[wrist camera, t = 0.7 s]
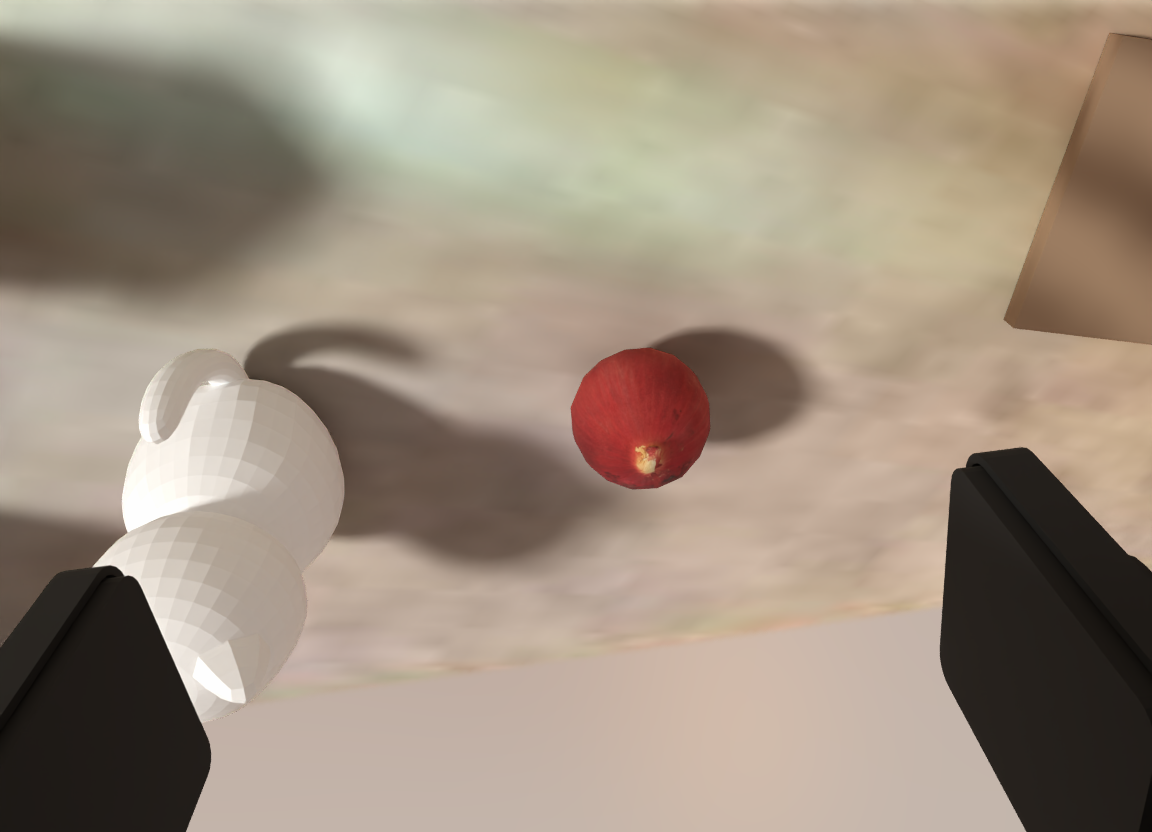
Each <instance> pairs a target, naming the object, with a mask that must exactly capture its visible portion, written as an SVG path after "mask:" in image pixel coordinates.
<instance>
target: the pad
mask: <svg viewBox="0 0 1152 832" xmlns="http://www.w3.org/2000/svg"><path fill="white" fill-rule="evenodd" d="M1004 320H1005V321H1006V322H1007V323H1008V324H1010V325H1011V326H1012V327H1013V328H1017V329H1026V330H1034V331H1042V332H1051V333H1059V334H1067V335H1075V336H1084V337H1092V338H1100V339H1108V340H1117V341H1125V342H1133V343H1142V344H1150V345H1152V40H1151V39H1145V38H1138V37H1132V36H1125V35H1118V34H1112V33H1109V36H1108V38H1107V41H1106V44H1105V47H1104V49H1103V52H1102V55H1101V57H1100V60H1099V63H1098V66H1097V68H1096V71H1095V74H1094V76H1093V79H1092V82H1091V85H1090V87H1089V90H1088V93H1087V95H1086V98H1085V101H1084V104H1083V106H1082V109H1081V112H1080V114H1079V117H1078V120H1077V122H1076V125H1075V128H1074V131H1073V133H1072V136H1071V139H1070V141H1069V144H1068V147H1067V150H1066V152H1065V155H1064V158H1063V160H1062V163H1061V166H1060V169H1059V171H1058V174H1057V177H1056V179H1055V182H1054V185H1053V188H1052V190H1051V193H1050V196H1049V198H1048V201H1047V204H1046V206H1045V209H1044V212H1043V215H1042V217H1041V220H1040V223H1039V225H1038V228H1037V231H1036V234H1035V236H1034V239H1033V242H1032V244H1031V247H1030V250H1029V253H1028V255H1027V258H1026V261H1025V263H1024V266H1023V269H1022V271H1021V274H1020V277H1019V280H1018V282H1017V285H1016V288H1015V290H1014V293H1013V296H1012V299H1011V301H1010V304H1009V307H1008V309H1007V312H1006V315H1005V318H1004Z"/></svg>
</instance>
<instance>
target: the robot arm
mask: <svg viewBox="0 0 1152 832" xmlns="http://www.w3.org/2000/svg"><path fill="white" fill-rule="evenodd" d="M940 660H941V666H942V670H943V674H944V677H945V679H946V682H947V684H948V686H949V688H950V690H951V691H952V693H953V695H954V697H955V699H956V701H957V703H958V705H959V707H960V708H961V710H962V712H963V714H964V716H965V718H966V720H967V721H968V723H969V725H970V727H971V729H972V731H973V733H974V735H975V736H976V738H977V740H978V742H979V744H980V746H981V748H982V749H983V751H984V753H985V755H986V757H987V759H988V761H989V762H990V764H991V766H992V768H993V770H994V772H995V774H996V776H997V778H998V779H999V781H1000V783H1001V785H1002V787H1003V789H1004V791H1005V792H1006V794H1007V796H1008V798H1009V800H1010V802H1011V804H1012V806H1013V807H1014V809H1015V811H1016V813H1017V815H1018V817H1019V819H1020V820H1021V822H1022V824H1023V826H1024V828H1025V830H1026V832H1152V572H1151V571H1150V570H1149V569H1148V567H1147V566H1145V565H1144V564H1143V563H1142V562H1141V561H1139V560H1138V559H1137V558H1136V557H1133V556H1130V555H1128V554H1127V553H1126V552H1125V551H1124V550H1123V549H1122V548H1121V547H1120V546H1119V544H1118V543H1117V542H1116V541H1115V540H1114V539H1113V538H1112V537H1111V536H1110V535H1109V534H1108V533H1107V532H1106V531H1105V529H1104V528H1103V527H1102V526H1101V525H1100V524H1099V523H1098V522H1097V521H1096V520H1095V519H1094V518H1093V517H1092V516H1091V514H1090V513H1089V512H1088V511H1087V510H1086V509H1085V508H1084V507H1083V506H1082V505H1081V504H1080V503H1079V502H1078V500H1077V499H1076V498H1075V497H1074V496H1073V495H1072V494H1071V493H1070V492H1069V491H1068V490H1067V489H1066V488H1065V487H1064V485H1063V484H1062V483H1061V482H1060V481H1059V480H1058V479H1057V478H1056V477H1055V476H1054V475H1053V474H1052V473H1051V471H1050V470H1049V469H1048V468H1047V467H1046V466H1045V465H1044V464H1043V463H1042V462H1041V461H1040V460H1039V459H1038V458H1037V456H1036V455H1035V454H1034V453H1033V452H1032V451H1030V450H1029V449H1028V448H1023V447H1021V448H1013V449H1005V450H997V451H990V452H982V453H974V454H972V455H971V456H970V457H969V459H968V461H967V464H966V468H959V469H956V470H955V471H954V472H953V474H952V479H951V490H950V505H949V520H948V534H947V549H946V564H945V579H944V594H943V609H942V624H941V638H940ZM210 763H211V749H210V743H209V740H208V738H207V735H206V733H205V731H204V728H203V726H202V724H201V722H200V719H199V717H198V715H197V712H196V710H195V708H194V706H193V703H192V701H191V699H190V697H189V694H188V692H187V690H186V688H185V685H184V683H183V681H182V679H181V676H180V674H179V672H178V669H177V667H176V665H175V663H174V660H173V658H172V656H171V654H170V651H169V649H168V647H167V645H166V642H165V640H164V638H163V635H162V633H161V631H160V629H159V626H158V624H157V622H156V620H155V617H154V615H153V613H152V611H151V608H150V606H149V604H148V601H147V599H146V597H145V595H144V592H143V590H142V588H141V586H140V584H139V582H138V581H137V580H136V579H135V578H134V577H133V576H129V575H128V576H124V574H123V573H122V571H121V570H119V569H118V568H117V567H115V566H111V565H108V566H100V567H92V568H85V569H77V570H69V571H63V572H60V573H58V574H57V575H56V576H55V577H54V578H53V579H52V580H51V581H50V582H49V584H48V585H47V586H46V588H45V589H44V590H43V592H42V593H41V594H40V596H39V597H38V598H37V600H36V601H35V602H34V604H33V605H32V606H31V608H30V609H29V610H28V612H27V613H26V614H25V616H24V617H23V619H22V620H21V621H20V623H19V624H18V625H17V627H16V628H15V629H14V631H13V632H12V633H11V635H10V636H9V637H8V639H7V640H6V641H5V643H4V644H3V645H2V647H1V648H0V832H186V830H187V827H188V825H189V822H190V820H191V817H192V815H193V812H194V809H195V807H196V804H197V802H198V799H199V797H200V794H201V792H202V789H203V786H204V784H205V781H206V779H207V776H208V773H209V770H210Z"/></svg>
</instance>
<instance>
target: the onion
mask: <svg viewBox="0 0 1152 832" xmlns="http://www.w3.org/2000/svg"><path fill="white" fill-rule="evenodd" d="M571 416H572V430H573V435H574V439H575V442H576V443H577V445H578V447H579V449H580V451H581V453H582V454H583V456H584V458H585V460H586V462H587V463H588V464H589V465H590V466H591V467H592V468H593V469H594V470H595V471H597V472H598V473H599V474H600V475H601V476H603V477H604V478H605V479H606V480H608V481H610V482H613V483H616V484H619V485H621V486H624V487H627V488H630V489H649V488H659V487H661V486H663V485H665V484H668V483H670V482H672V481H674V480H677V479H679V478H681V477H682V476H683V475H684V474H685V473H686V472H687V471H688V469H689V468H690V467H691V466H692V465H693V464H694V463H695V461H696V460H697V459H698V458H699V457H700V455H701V452H702V450H703V447H704V445H705V442H706V440H707V437H708V434H709V431H710V413H709V402H708V398H707V395H706V393H705V391H704V390H703V388H702V386H701V384H700V382H699V380H698V378H697V376H696V375H695V374H694V372H693V371H692V370H691V369H690V368H689V367H687V366H686V365H685V364H684V363H683V362H681V361H680V360H679V359H678V358H676V357H675V356H674V355H672V354H669V353H665V352H662V351H659V350H656V349H653V348H640V349H629V350H623V351H621V352H619V353H616V354H614V355H612V356H610V357H608V358H605V359H603V360H601V361H600V362H599V363H598V364H597V365H596V366H595V367H594V368H593V369H592V370H591V371H589V372H588V373H587V374H586V375H585V376H584V378H583V380H582V382H581V385H580V387H579V389H578V391H577V394H576V396H575V398H574V401H573V403H572V406H571Z"/></svg>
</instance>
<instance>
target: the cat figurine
mask: <svg viewBox="0 0 1152 832" xmlns="http://www.w3.org/2000/svg"><path fill="white" fill-rule="evenodd" d="M207 381H208V382H209V383H210V385H202V386H200V385H201V384H203V383H205V382H207ZM139 429H140V432H141V435H142V437H141V439H140V441H139V442H138V444H137V445H136V448H135V450H134V453H133V455H132V458H131V460H130V462H129V465H128V468H127V474H126V479H125V484H124V489H123V495H122V509H123V518H124V522H125V526H126V529H127V532H128V533H127V534H126V535H124V536H123V537H121V538H120V539H119V540H117V541H116V542H115V543H114V544H113V545H112V546H111V547H110V548H109V549H108V550H107V551H106V553H105V554H104V555H103V556H102V557H101V558H100V559H99V560H98V561H97V562H96V563H95V565H94V566H93V567H100V566H108V565H111V566H115V567H117V568H118V569H119V570H121V571H122V573H123V574H124V576H128V575H129V576H133V577H134V578H135V579H136V580H137V581H138V582H139V584H140V586H141V588H142V590H143V592H144V595H145V597H146V599H147V601H148V604H149V606H150V608H151V611H152V613H153V615H154V617H155V620H156V622H157V624H158V626H159V629H160V631H161V633H162V635H163V638H164V640H165V642H166V645H167V647H168V649H169V651H170V654H171V656H172V658H173V660H174V663H175V665H176V667H177V669H178V672H179V674H180V676H181V679H182V681H183V683H184V685H185V688H186V690H187V692H188V694H189V697H190V699H191V701H192V703H193V706H194V708H195V710H196V712H197V715H198V717H199V719H200V722H201V723H202V722H207V721H211V720H215V719H219V718H223V717H226V716H228V715H230V714H232V713H234V712H237V711H238V710H240V709H241V708H243V707H244V706H246V705H247V704H248V703H249V702H251V701H252V700H253V699H254V698H256V697H257V696H258V695H259V694H260V693H261V692H262V691H263V690H264V689H265V688H266V687H267V685H268V684H269V683H270V682H271V681H272V680H273V678H274V677H275V676H276V675H277V674H278V672H279V671H280V669H281V668H282V666H283V665H284V663H285V662H286V661H287V659H288V657H289V656H290V654H291V652H292V651H293V649H294V648H295V646H296V644H297V641H298V639H299V637H300V634H301V632H302V629H303V625H304V622H305V619H306V613H307V602H308V600H307V594H306V587H305V583H304V580H303V576H302V572H303V571H304V570H305V569H306V568H307V567H308V566H309V565H310V564H311V563H312V562H313V561H314V560H315V559H316V558H317V557H318V556H319V555H320V553H321V552H322V551H323V550H324V548H325V546H326V545H327V543H328V541H329V539H330V538H331V536H332V534H333V532H334V530H335V529H336V527H337V525H338V522H339V518H340V514H341V510H342V506H343V501H344V496H345V491H344V475H343V471H342V467H341V463H340V459H339V455H338V451H337V448H336V446H335V444H334V442H333V440H332V438H331V436H330V434H329V432H328V430H327V428H326V427H325V425H324V424H323V423H322V421H321V420H320V419H319V417H318V416H317V415H316V414H315V412H314V411H313V410H312V409H311V408H310V407H309V406H308V405H307V404H306V403H305V402H304V401H303V400H301V399H300V398H299V397H298V396H297V395H296V394H294V393H292V392H291V391H289V390H288V389H286V388H284V387H283V386H280V385H277V384H274V383H271V382H268V381H264V380H254V379H249V377H248V376H247V374H246V372H245V371H244V369H243V368H242V367H241V365H240V364H239V363H238V362H237V361H236V359H235V358H233V357H232V356H231V355H230V354H228V353H225V352H222V351H219V350H217V349H197V350H193V351H190V352H187V353H184V354H181V355H179V356H177V357H176V358H174V359H172V360H171V361H169V362H168V363H167V364H166V365H165V366H164V367H163V368H162V369H161V370H160V371H158V372H157V373H156V374H155V376H154V378H153V379H152V381H151V382H150V384H149V385H148V387H147V389H146V392H145V394H144V397H143V399H142V402H141V408H140V414H139Z"/></svg>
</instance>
